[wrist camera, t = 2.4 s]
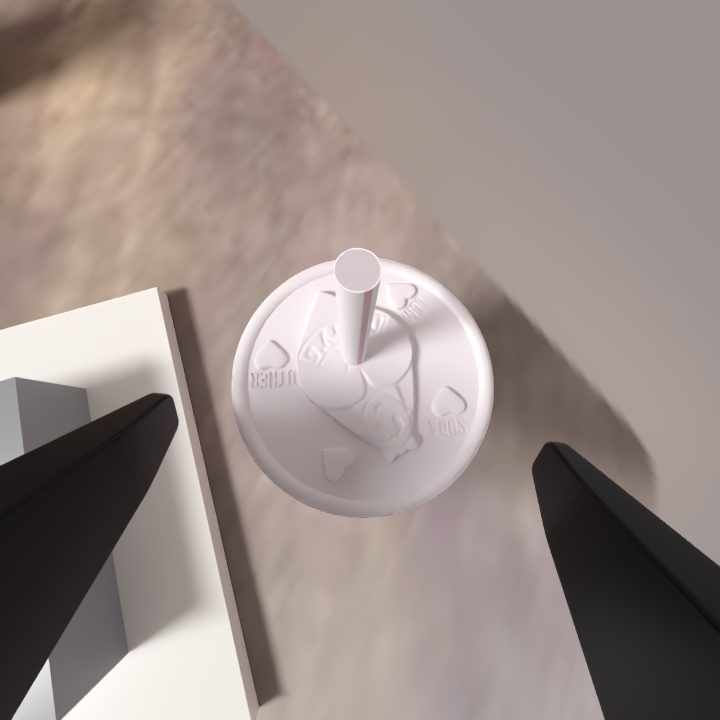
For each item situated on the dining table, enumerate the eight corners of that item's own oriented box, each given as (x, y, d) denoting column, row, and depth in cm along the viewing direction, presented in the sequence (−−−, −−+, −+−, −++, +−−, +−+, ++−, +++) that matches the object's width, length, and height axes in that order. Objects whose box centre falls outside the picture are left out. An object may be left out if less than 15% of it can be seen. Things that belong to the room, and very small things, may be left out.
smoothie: (381, 327, 18) (475, 17, 5) (440, 433, 17) (791, 439, 4) (274, 380, 18) (5, 195, 4) (328, 495, 16) (220, 811, 3)
